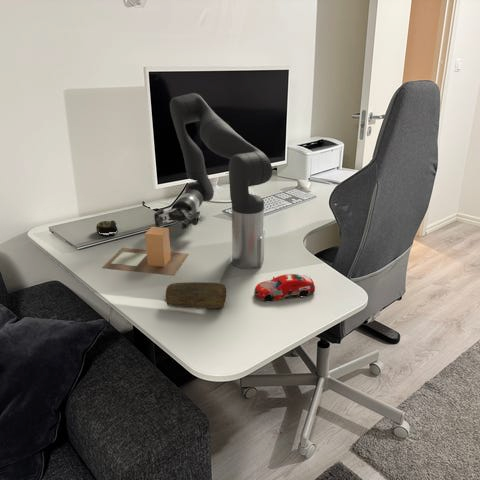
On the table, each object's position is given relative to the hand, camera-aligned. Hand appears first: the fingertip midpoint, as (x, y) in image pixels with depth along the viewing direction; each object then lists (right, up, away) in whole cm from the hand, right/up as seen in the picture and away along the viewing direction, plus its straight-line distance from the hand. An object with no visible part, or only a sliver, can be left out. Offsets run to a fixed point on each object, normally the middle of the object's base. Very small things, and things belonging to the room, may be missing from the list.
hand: (170, 225), depth 143 cm
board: (-6, -12, -6) cm, 15 cm away
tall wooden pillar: (-2, -11, -7) cm, 13 cm away
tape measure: (-24, -2, +17) cm, 29 cm away
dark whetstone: (+11, -22, -26) cm, 35 cm away
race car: (+34, -19, -20) cm, 44 cm away
